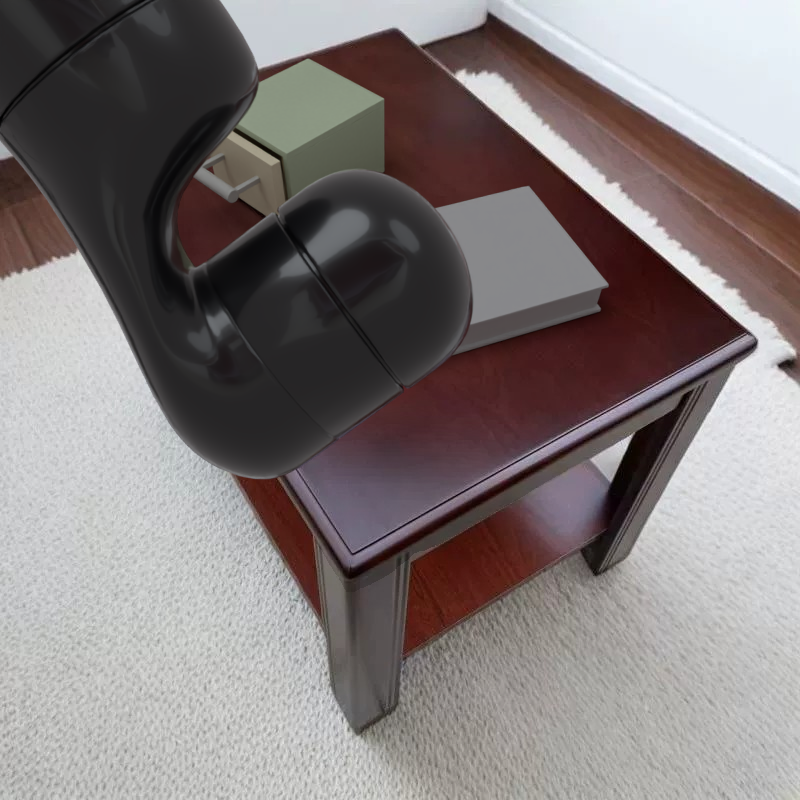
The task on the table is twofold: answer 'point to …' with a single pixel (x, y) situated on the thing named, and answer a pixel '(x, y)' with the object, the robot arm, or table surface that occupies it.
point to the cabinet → (317, 123)
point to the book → (520, 267)
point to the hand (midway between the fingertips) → (345, 313)
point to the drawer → (246, 173)
